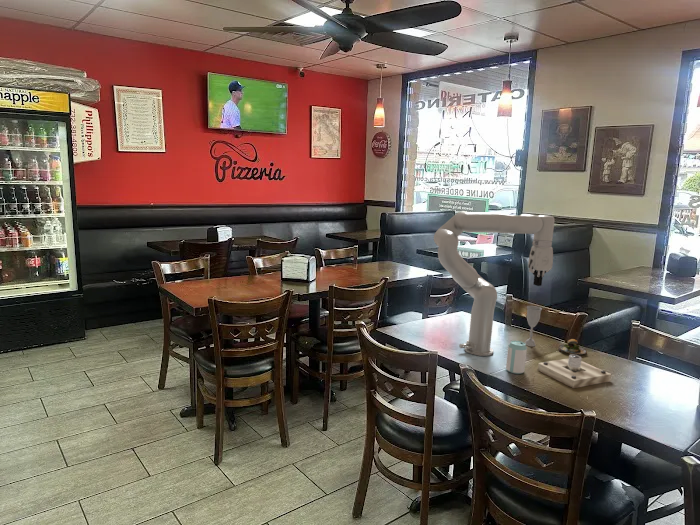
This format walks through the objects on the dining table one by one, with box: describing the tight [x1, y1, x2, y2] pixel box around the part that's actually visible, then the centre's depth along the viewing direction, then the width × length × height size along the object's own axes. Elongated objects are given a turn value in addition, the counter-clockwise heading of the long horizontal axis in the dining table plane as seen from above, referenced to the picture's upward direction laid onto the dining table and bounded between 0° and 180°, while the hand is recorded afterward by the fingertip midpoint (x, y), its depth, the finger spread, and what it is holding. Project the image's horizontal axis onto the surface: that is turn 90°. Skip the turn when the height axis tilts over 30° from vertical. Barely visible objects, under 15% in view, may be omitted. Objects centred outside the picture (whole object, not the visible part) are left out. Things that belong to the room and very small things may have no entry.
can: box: [505, 340, 528, 375], centre depth 195 cm, size 7×7×12 cm
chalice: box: [524, 305, 543, 347], centre depth 228 cm, size 7×7×18 cm
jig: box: [536, 357, 612, 389], centre depth 194 cm, size 20×18×4 cm
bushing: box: [567, 354, 583, 372], centre depth 194 cm, size 5×5×8 cm
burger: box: [558, 338, 588, 356], centre depth 221 cm, size 12×12×8 cm
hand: (537, 285), depth 213 cm, fingers closed
